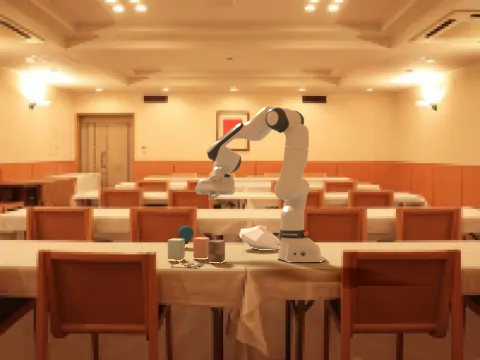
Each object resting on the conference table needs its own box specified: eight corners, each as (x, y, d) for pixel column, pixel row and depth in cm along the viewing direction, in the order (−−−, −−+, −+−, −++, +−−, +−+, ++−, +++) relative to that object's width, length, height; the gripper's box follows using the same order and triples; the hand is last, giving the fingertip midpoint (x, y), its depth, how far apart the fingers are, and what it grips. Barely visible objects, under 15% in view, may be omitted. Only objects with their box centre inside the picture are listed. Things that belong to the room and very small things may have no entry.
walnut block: (225, 261, 252) (224, 240, 252) (221, 264, 246) (220, 242, 246) (212, 261, 254) (212, 239, 253) (208, 263, 248) (208, 241, 248)
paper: (276, 253, 273) (276, 229, 272) (231, 251, 282) (231, 227, 281) (290, 246, 296) (290, 223, 296) (248, 244, 305) (248, 222, 304)
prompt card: (203, 264, 245) (203, 262, 245) (196, 268, 236) (196, 266, 236) (179, 263, 248) (178, 261, 248) (171, 267, 240) (171, 265, 240)
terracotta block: (209, 258, 262) (209, 237, 261) (205, 260, 256) (205, 239, 256) (197, 257, 263) (197, 237, 263) (193, 259, 258) (193, 238, 257)
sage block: (184, 259, 258) (184, 238, 257) (179, 262, 252) (179, 240, 252) (173, 259, 259) (172, 238, 259) (167, 261, 254) (167, 240, 253)
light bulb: (186, 249, 288) (186, 226, 288) (175, 247, 293) (174, 225, 293) (197, 247, 295) (196, 225, 294) (185, 246, 300) (185, 224, 299)
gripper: (197, 175, 283) (190, 195, 274) (235, 175, 277) (229, 195, 268) (200, 183, 288) (194, 203, 279) (237, 183, 282) (232, 203, 273)
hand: (211, 199), depth 273 cm, fingers closed
